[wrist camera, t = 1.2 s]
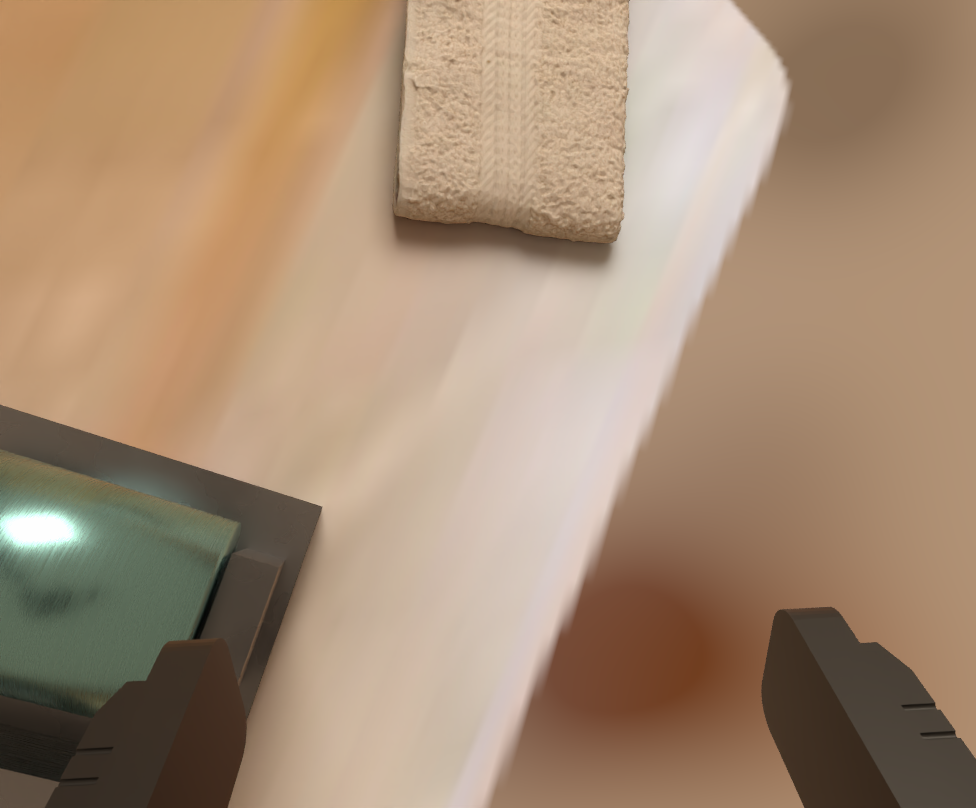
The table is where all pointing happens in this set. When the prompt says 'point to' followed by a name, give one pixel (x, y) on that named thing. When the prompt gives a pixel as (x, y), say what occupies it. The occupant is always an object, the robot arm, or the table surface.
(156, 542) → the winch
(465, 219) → the washcloth
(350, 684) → the table surface
